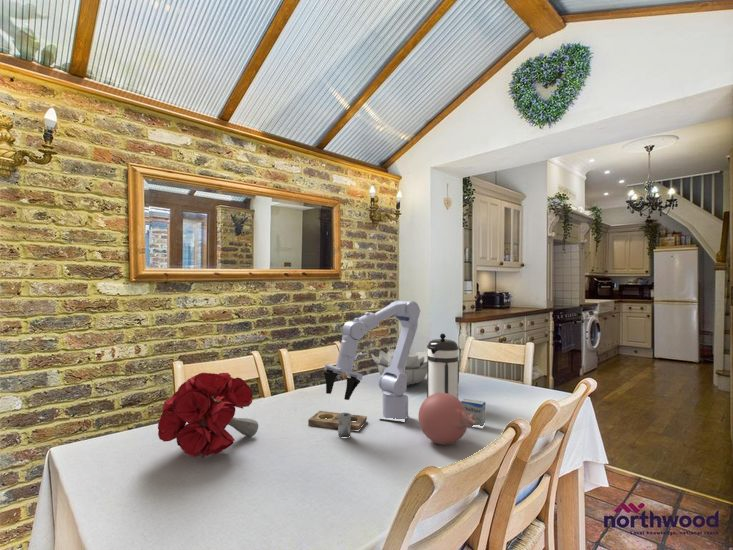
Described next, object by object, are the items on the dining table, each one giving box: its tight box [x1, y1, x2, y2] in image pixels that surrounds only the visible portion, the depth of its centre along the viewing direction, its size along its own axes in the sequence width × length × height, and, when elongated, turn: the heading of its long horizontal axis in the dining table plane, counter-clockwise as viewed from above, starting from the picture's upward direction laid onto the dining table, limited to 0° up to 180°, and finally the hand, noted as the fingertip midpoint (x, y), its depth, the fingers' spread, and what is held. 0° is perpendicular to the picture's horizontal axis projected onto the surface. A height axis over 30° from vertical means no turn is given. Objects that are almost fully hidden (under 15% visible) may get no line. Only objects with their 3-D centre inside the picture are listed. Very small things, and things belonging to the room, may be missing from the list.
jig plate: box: [307, 410, 368, 431], centre depth 137 cm, size 18×10×2 cm, turn 73°
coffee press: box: [426, 332, 460, 399], centre depth 158 cm, size 17×16×30 cm
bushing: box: [337, 412, 352, 438], centre depth 126 cm, size 4×4×7 cm
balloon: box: [418, 393, 477, 445], centre depth 120 cm, size 15×20×15 cm
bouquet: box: [157, 372, 259, 458], centre depth 115 cm, size 22×24×30 cm
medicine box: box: [460, 398, 486, 426], centre depth 137 cm, size 8×4×9 cm, turn 62°
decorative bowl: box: [371, 348, 428, 386], centre depth 193 cm, size 30×30×15 cm
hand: (337, 396), depth 129 cm, fingers open, 7 cm apart
